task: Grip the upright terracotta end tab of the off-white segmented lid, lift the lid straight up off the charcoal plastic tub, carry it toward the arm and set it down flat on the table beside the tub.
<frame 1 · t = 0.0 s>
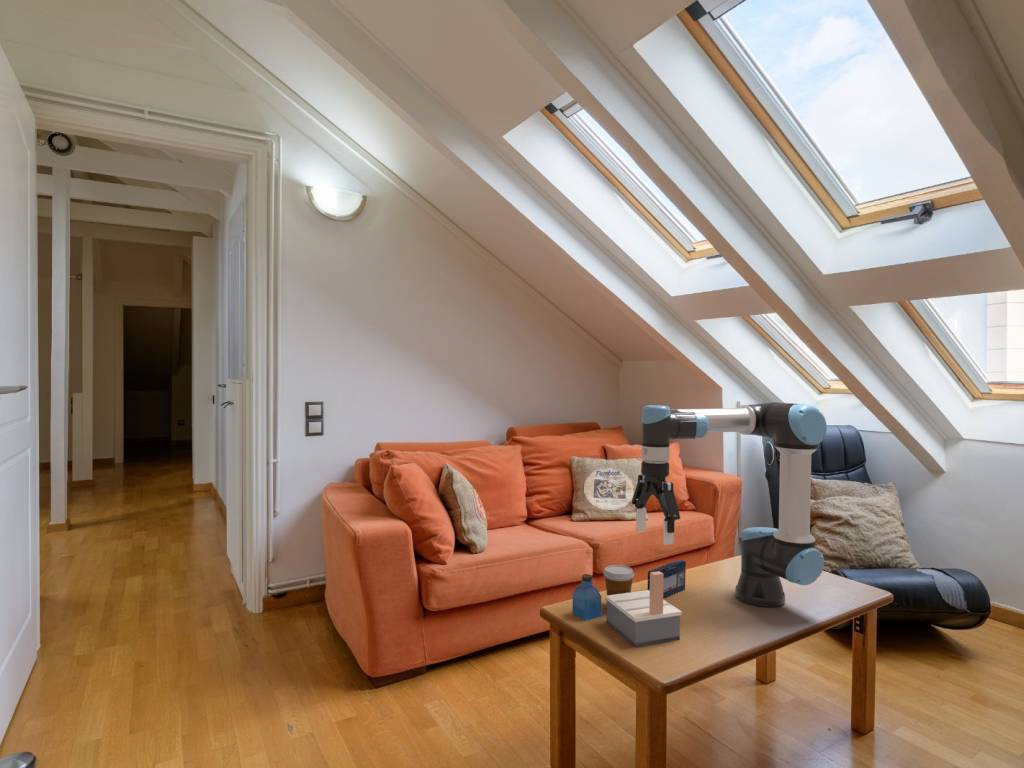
hand: (654, 537, 162), 28 cm above the table, tool pointing down, fingers open, 13 cm apart
perfume bottle: (586, 615, 178), on the table
vhs cassette tape: (666, 596, 194), on the table
disposable coffee cup: (618, 608, 183), on the table
tub: (642, 631, 167), on the table
lid: (642, 606, 167), point 7 cm above the table, touching tub
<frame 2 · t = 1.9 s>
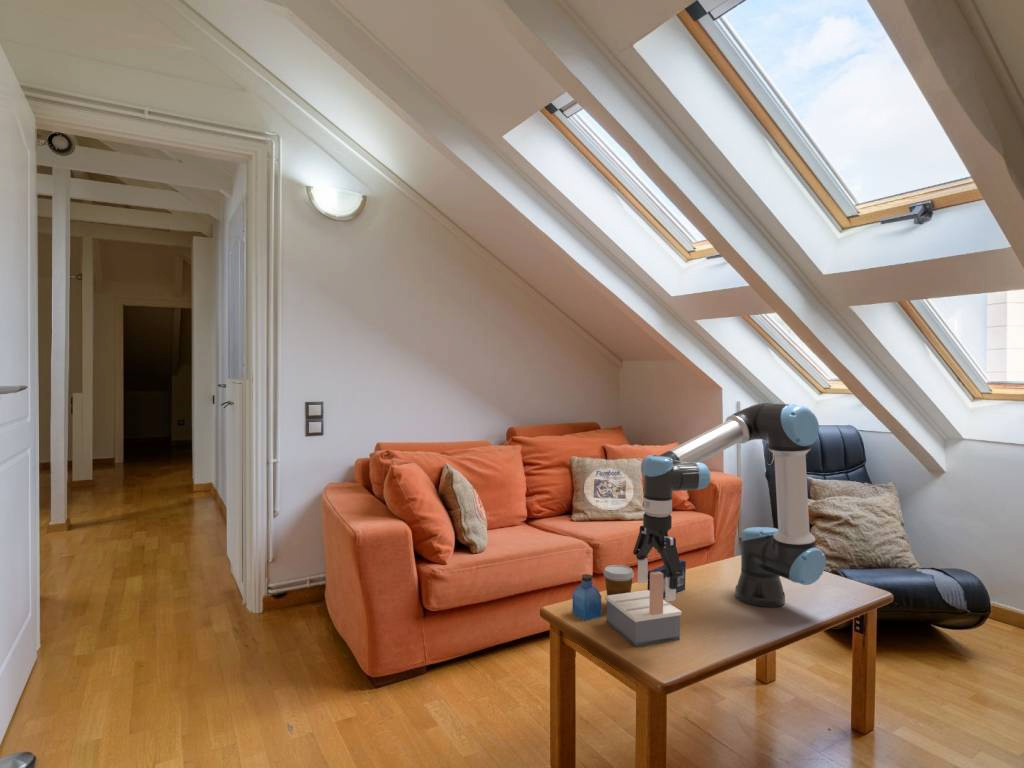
hand: (655, 591, 160), 14 cm above the table, tool pointing down, fingers open, 13 cm apart
nothing on the table moved.
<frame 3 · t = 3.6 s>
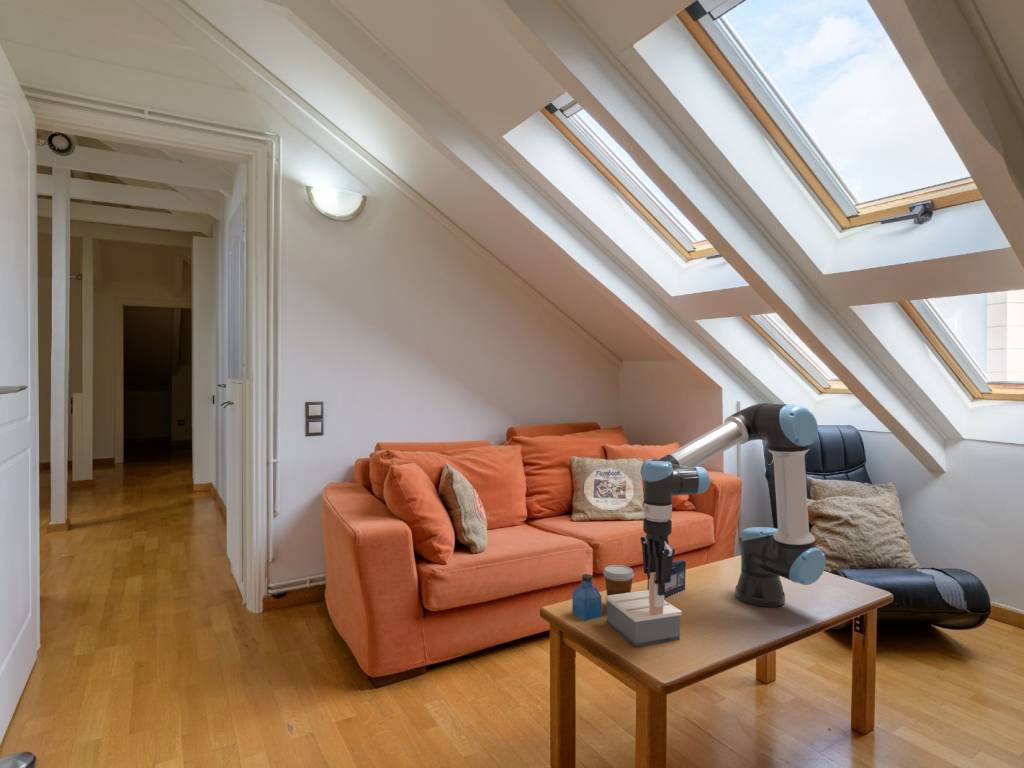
hand: (656, 603, 160), 10 cm above the table, tool pointing down, fingers closed on lid, 2 cm apart
lid: (642, 606, 167), point 7 cm above the table, touching gripper
everything else where it was.
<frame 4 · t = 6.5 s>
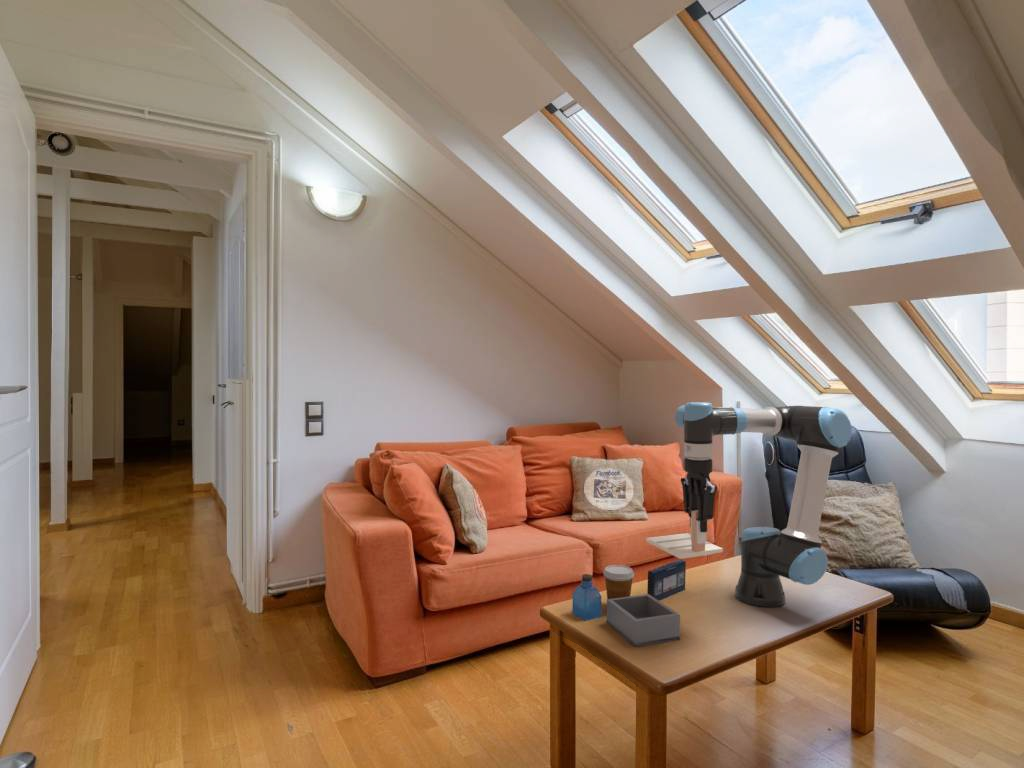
hand: (698, 541, 163), 27 cm above the table, tool pointing down, fingers closed on lid, 2 cm apart
lid: (683, 546, 170), point 23 cm above the table, touching gripper
everything else where it was.
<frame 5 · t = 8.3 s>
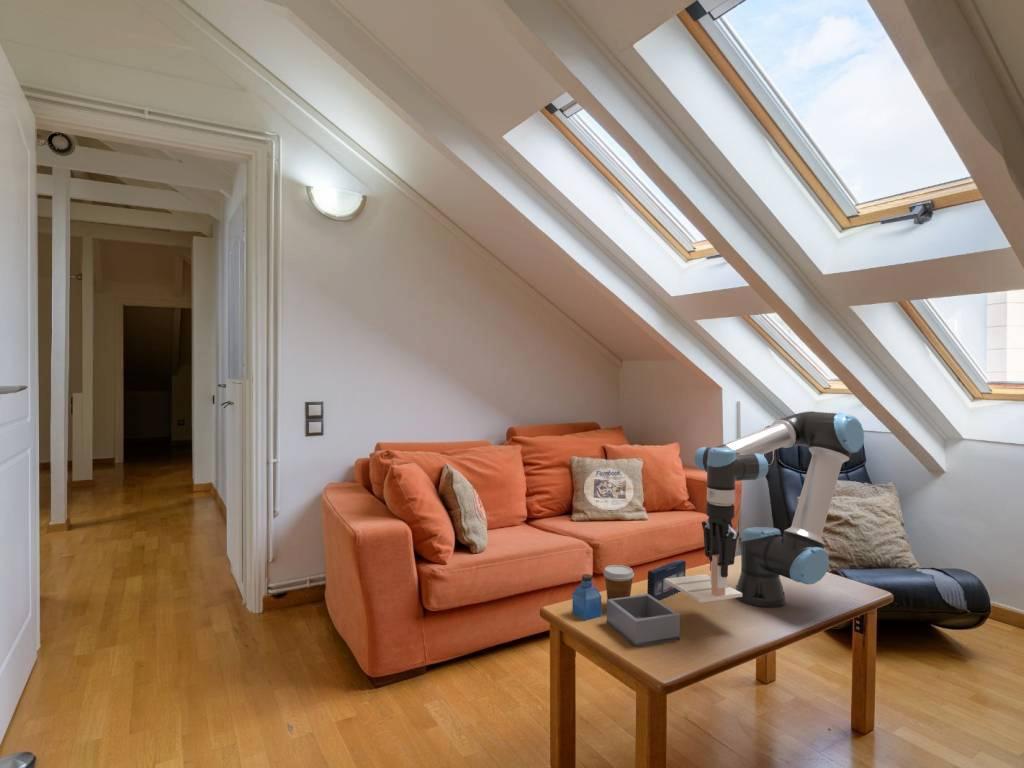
hand: (718, 585, 165), 14 cm above the table, tool pointing down, fingers closed on lid, 2 cm apart
lid: (702, 589, 172), point 10 cm above the table, touching gripper
everything else where it was.
when the fingers open (5 cm above the table, at t = 9.9 s): lid drops 1 cm, point 1 cm above the table.
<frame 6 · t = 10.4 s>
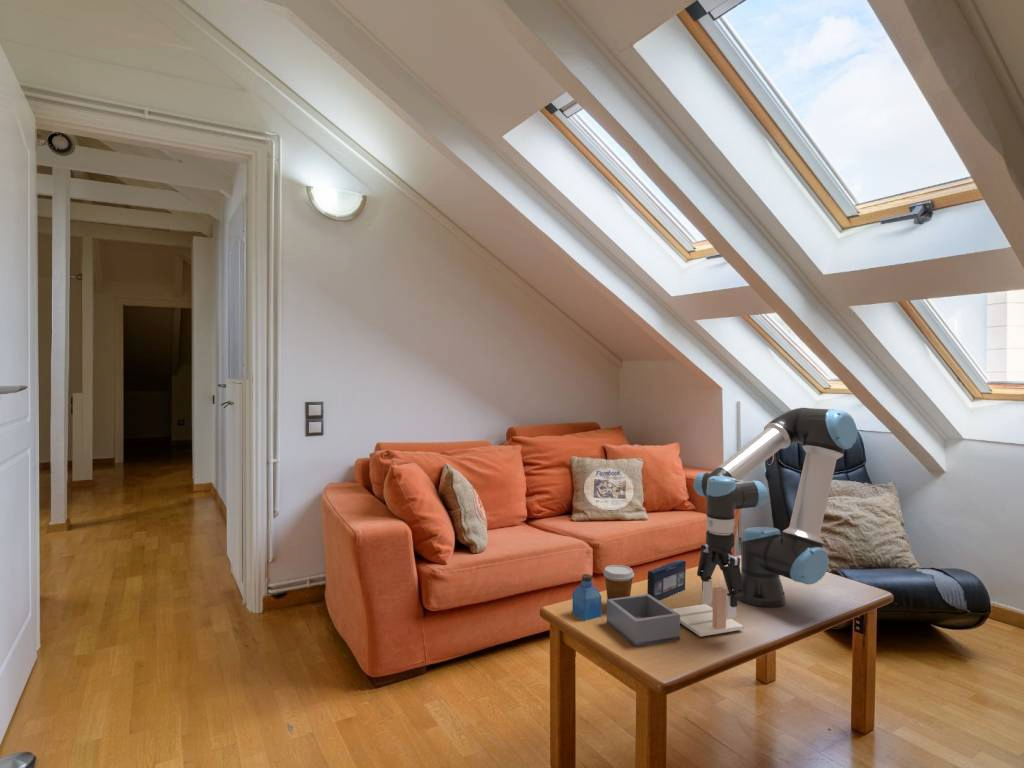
hand: (718, 610, 166), 7 cm above the table, tool pointing down, fingers open, 9 cm apart
lid: (703, 620, 172), point 1 cm above the table
everything else where it was.
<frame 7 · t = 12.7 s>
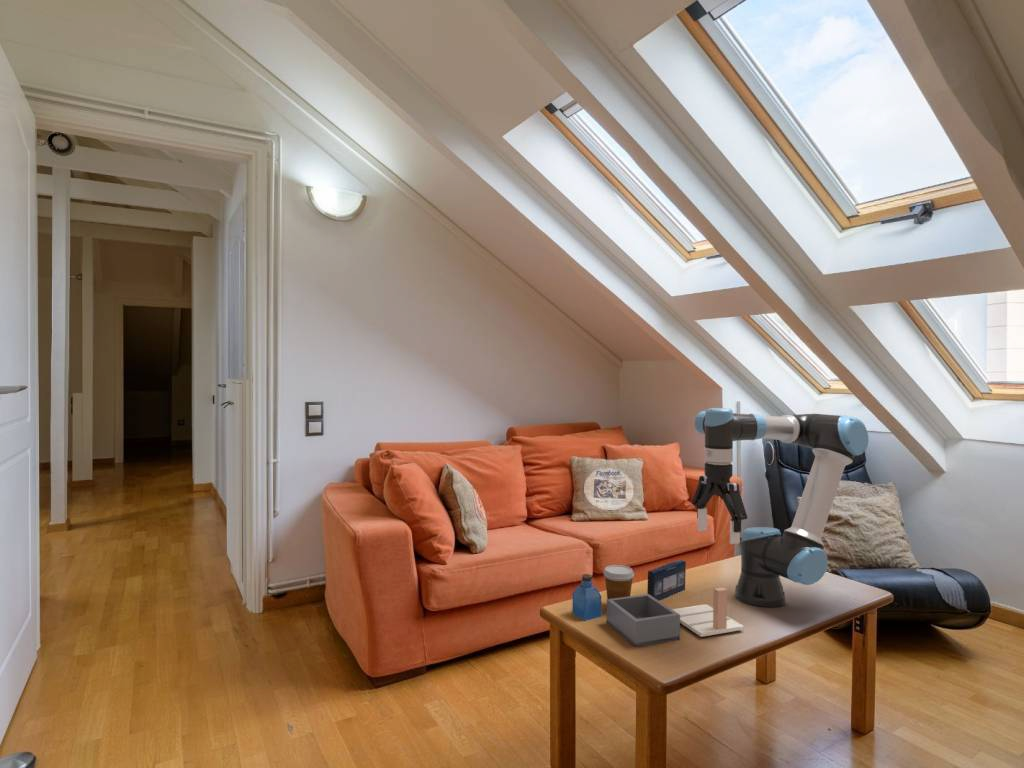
hand: (717, 536, 167), 27 cm above the table, tool pointing down, fingers open, 13 cm apart
nothing on the table moved.
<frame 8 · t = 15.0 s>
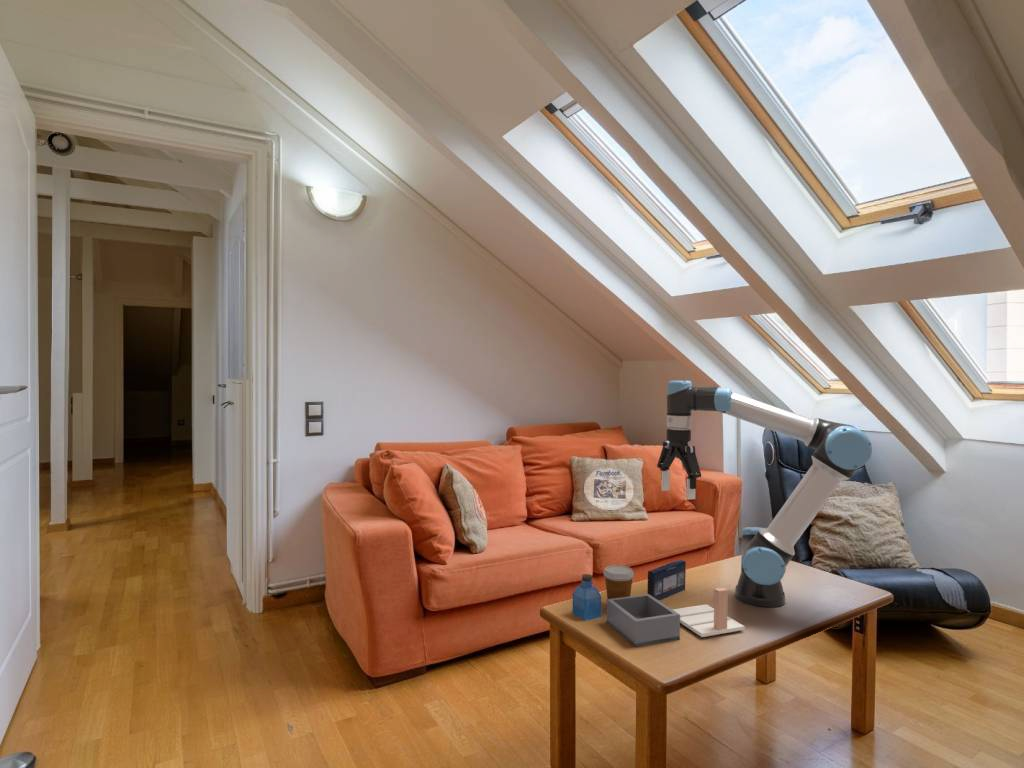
hand: (677, 494, 187), 35 cm above the table, tool pointing down, fingers open, 13 cm apart
nothing on the table moved.
at the end: lid touching table; lid inside the target area (0.6 cm from its centre), point 0.7 cm above the table; lid tilted 0° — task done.
